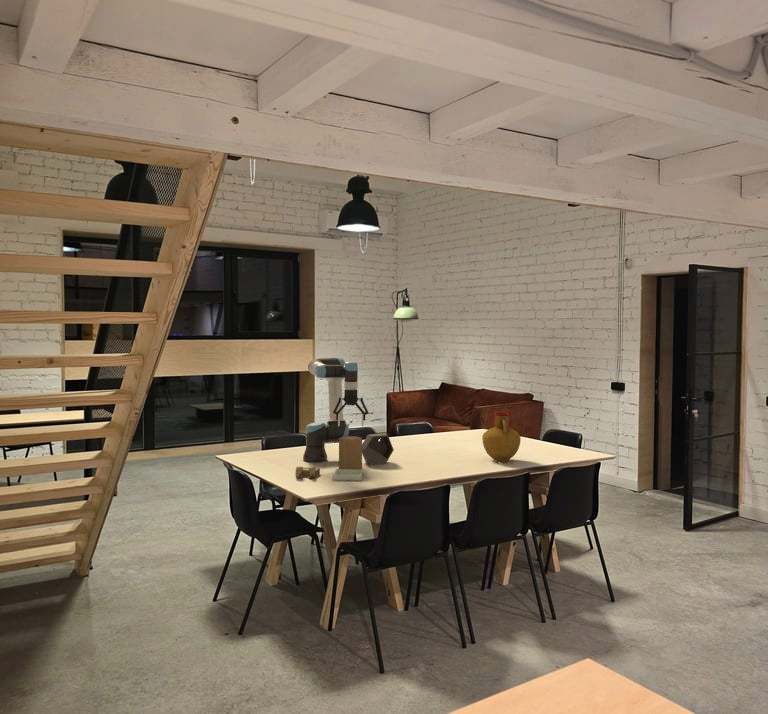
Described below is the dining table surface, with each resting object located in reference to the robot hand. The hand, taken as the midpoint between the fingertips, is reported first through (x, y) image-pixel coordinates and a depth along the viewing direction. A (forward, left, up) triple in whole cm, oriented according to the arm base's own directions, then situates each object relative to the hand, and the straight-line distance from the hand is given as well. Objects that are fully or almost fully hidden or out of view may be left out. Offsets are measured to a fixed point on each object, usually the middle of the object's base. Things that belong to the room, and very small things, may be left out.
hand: (350, 426), depth 380 cm
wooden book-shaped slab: (+10, -23, -27) cm, 37 cm away
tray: (+15, 0, -26) cm, 30 cm away
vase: (-41, +92, -27) cm, 104 cm away
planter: (-27, +14, -27) cm, 41 cm away
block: (0, 0, -27) cm, 27 cm away
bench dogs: (+18, -23, -26) cm, 39 cm away
